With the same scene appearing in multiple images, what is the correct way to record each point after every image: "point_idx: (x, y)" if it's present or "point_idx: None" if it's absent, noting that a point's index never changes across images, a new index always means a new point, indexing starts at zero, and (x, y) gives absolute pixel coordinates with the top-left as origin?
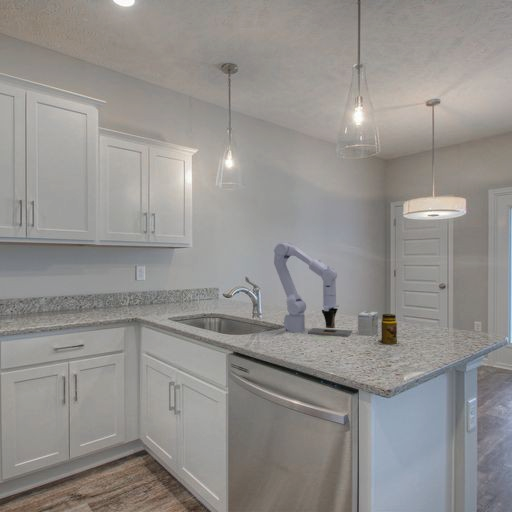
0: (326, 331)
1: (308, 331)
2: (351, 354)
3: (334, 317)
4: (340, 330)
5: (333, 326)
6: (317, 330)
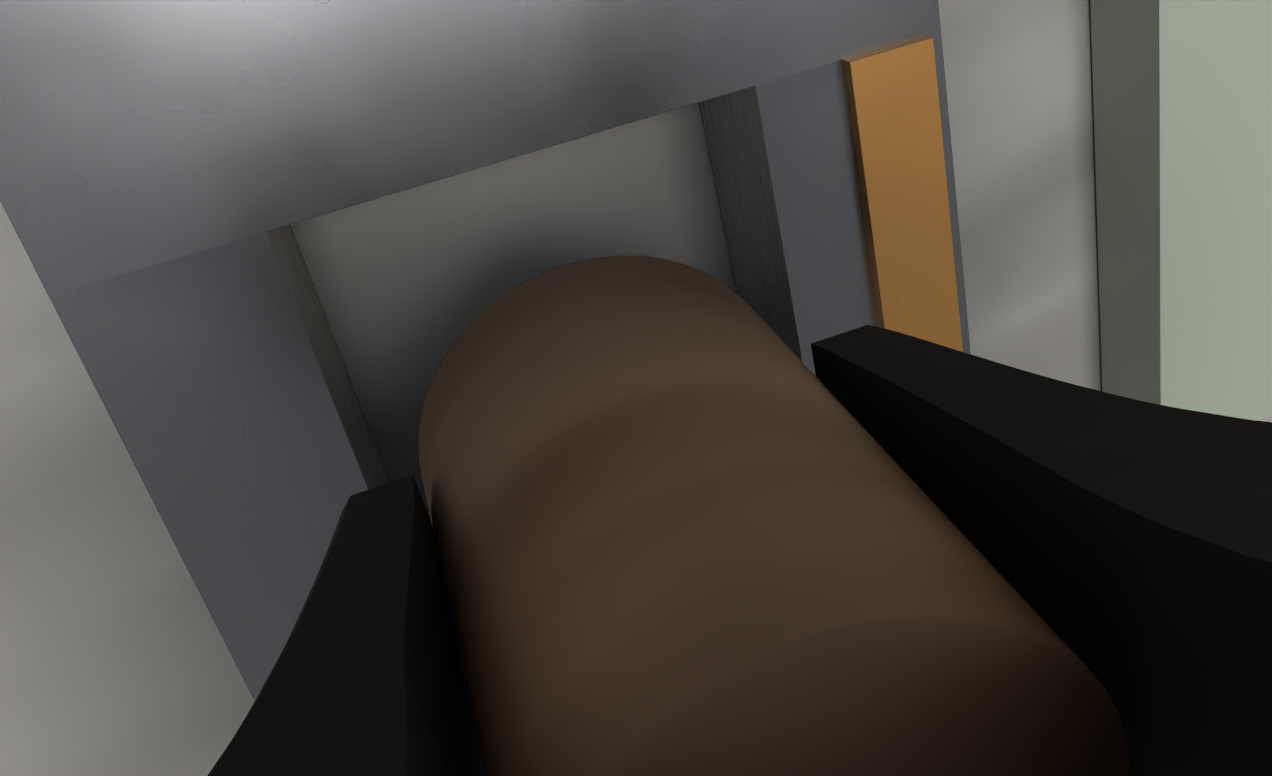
0: None
1: None
2: None
3: (673, 522)
4: (166, 116)
5: (685, 283)
6: None
